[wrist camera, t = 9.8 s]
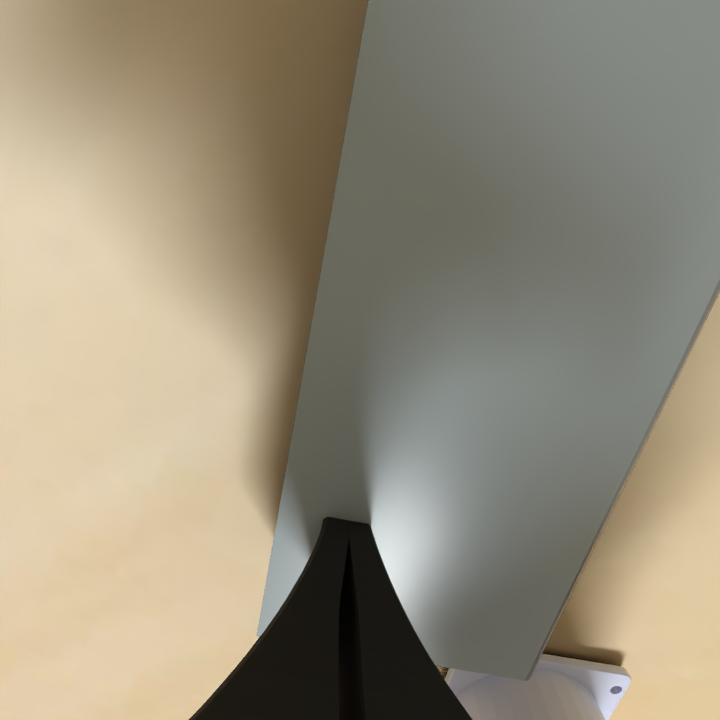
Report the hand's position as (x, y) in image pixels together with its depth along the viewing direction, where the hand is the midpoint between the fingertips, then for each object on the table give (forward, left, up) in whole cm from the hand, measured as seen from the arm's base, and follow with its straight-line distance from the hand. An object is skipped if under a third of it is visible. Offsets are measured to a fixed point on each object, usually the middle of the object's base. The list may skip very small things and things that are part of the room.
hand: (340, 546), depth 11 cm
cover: (+6, -3, -1) cm, 7 cm away
